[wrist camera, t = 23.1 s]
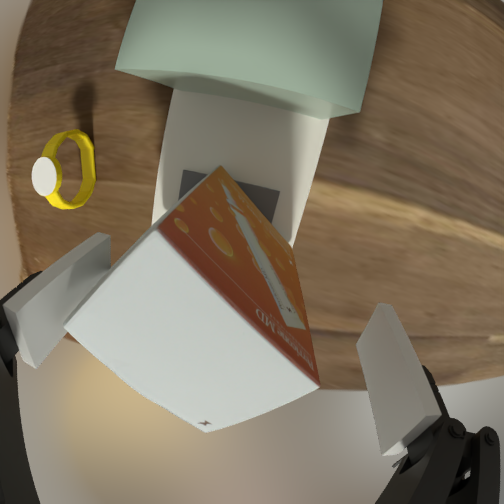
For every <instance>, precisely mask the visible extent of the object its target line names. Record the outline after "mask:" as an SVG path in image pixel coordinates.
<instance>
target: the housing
mask: <svg viewBox="0 0 504 504" xmlns="http://www.w3.org/2000/svg"><path fill="white" fill-rule="evenodd" d="M382 4H383V0H136V2H135V5H134V8H133V11H132V13H131V16H130V19H129V22H128V25H127V28H126V31H125V34H124V38H123V41H122V44H121V48H120V51H119V55H118V59H117V63H116V67H115V70H119V71H122V72H126V73H129V74H133V75H136V76H139V77H142V78H145V79H148V80H151V81H154V82H157V83H160V84H163V85H166V86H169V87H172V88H174V89H177V90H180V91H188V92H196V93H203V94H210V95H217V96H223V97H228V98H234V99H239V100H244V101H249V102H254V103H259V104H263V105H268V106H272V107H276V108H280V109H284V110H288V111H292V112H296V113H299V114H303V115H307V116H310V117H314V118H317V119H320V120H323V119H328V118H332V117H337V116H343V115H348V114H353V113H359V112H360V109H361V105H362V101H363V97H364V93H365V89H366V85H367V80H368V76H369V72H370V67H371V63H372V58H373V53H374V48H375V43H376V38H377V33H378V27H379V22H380V16H381V10H382Z"/></svg>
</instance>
